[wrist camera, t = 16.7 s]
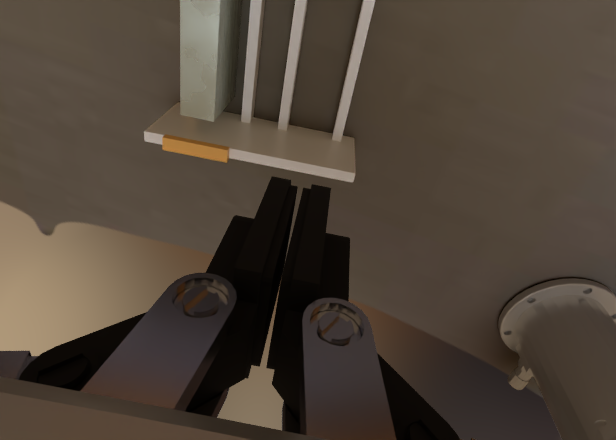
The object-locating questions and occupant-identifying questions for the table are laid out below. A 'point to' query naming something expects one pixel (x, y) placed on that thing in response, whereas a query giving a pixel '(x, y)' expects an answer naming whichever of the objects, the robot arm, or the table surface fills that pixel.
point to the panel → (208, 56)
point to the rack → (263, 133)
